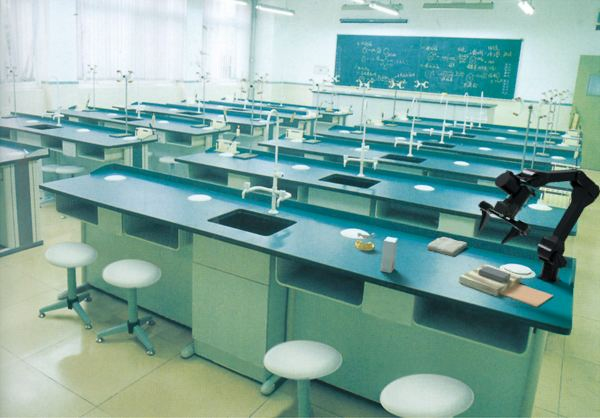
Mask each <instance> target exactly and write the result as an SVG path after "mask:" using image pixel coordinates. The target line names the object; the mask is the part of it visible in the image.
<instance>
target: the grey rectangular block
mask: <svg viewBox="0 0 600 418" xmlns="http://www.w3.org/2000/svg"><path fill="white" fill-rule="evenodd" d="M478 275H480V276H483V277H486V278H489V279H492V280H495V281H498V282H501V283H503V282H505V281H507V280H509V279H510V275H511V274H509V273H506V272H503V271H500V270H497V269H494V268H491V267H488V266H486V267H484V268H482V269H480V270H479V274H478Z"/></svg>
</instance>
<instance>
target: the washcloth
mask: <svg viewBox="0 0 600 418" xmlns="http://www.w3.org/2000/svg"><path fill="white" fill-rule="evenodd" d="M467 245H468V243H467V242H465V241H461V240H455V239H453V238H451V237H446V236H442V237H437V238H435V239H434V240H433V241H431V242H429V243H428V245H427V246H426V249H427V250H429V251H432V252H437V253H439V254H443V255H446V256H451V257H452V256H453V257H454V256H455V255H456V254H458V253H460V252H461V251H462V250H464V249H466V248H467Z"/></svg>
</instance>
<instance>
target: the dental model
mask: <svg viewBox="0 0 600 418" xmlns="http://www.w3.org/2000/svg"><path fill="white" fill-rule="evenodd" d="M356 235H357V237H358V238H360V237H362V238H363V239H365V240H366V239H369V238H370V237H372V238H373V239H374V238H375V235H376V233H375V232H372V233H371V234H369V235H367V234H366V235H365V234H362V233H361V232H358V233H356ZM354 247H355V248H357V249H358V250H361V251H373V250H374V247H375V245H374V243H372V242H371V241H369V242H363V241H361V240H360V239H359V240H358V239H357V240H356V241H355V243H354Z"/></svg>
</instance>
